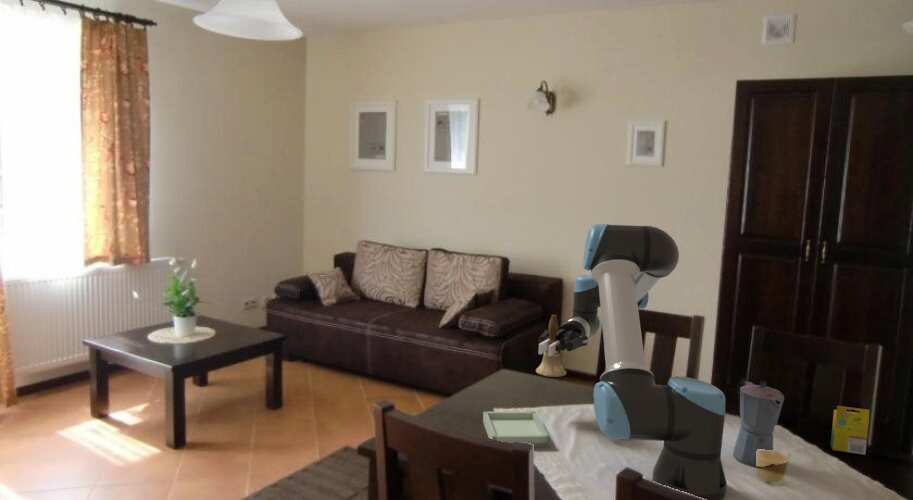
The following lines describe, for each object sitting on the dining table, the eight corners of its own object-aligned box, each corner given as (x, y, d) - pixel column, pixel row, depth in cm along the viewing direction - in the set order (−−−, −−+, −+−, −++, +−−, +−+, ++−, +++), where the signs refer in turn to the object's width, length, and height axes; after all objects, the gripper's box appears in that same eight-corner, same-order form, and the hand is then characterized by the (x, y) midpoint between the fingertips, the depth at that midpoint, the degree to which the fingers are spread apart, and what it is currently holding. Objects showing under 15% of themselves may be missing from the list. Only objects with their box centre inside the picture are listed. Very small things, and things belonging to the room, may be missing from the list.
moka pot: (757, 475, 146) (765, 390, 144) (713, 446, 161) (720, 369, 159) (791, 471, 149) (800, 388, 146) (745, 443, 164) (753, 367, 161)
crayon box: (862, 450, 162) (868, 406, 161) (865, 455, 159) (871, 410, 158) (829, 445, 165) (834, 401, 163) (831, 450, 162) (837, 405, 160)
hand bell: (530, 369, 179) (533, 313, 177) (555, 366, 182) (558, 311, 180) (546, 378, 171) (549, 319, 169) (572, 375, 175) (575, 317, 173)
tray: (548, 447, 157) (549, 436, 157) (492, 447, 155) (492, 436, 155) (534, 421, 173) (534, 411, 172) (482, 421, 171) (483, 411, 171)
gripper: (597, 348, 188) (571, 369, 168) (549, 340, 195) (517, 358, 175) (599, 323, 187) (572, 340, 167) (550, 316, 194) (519, 331, 174)
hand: (544, 350), depth 171 cm, fingers closed on hand bell, 2 cm apart
